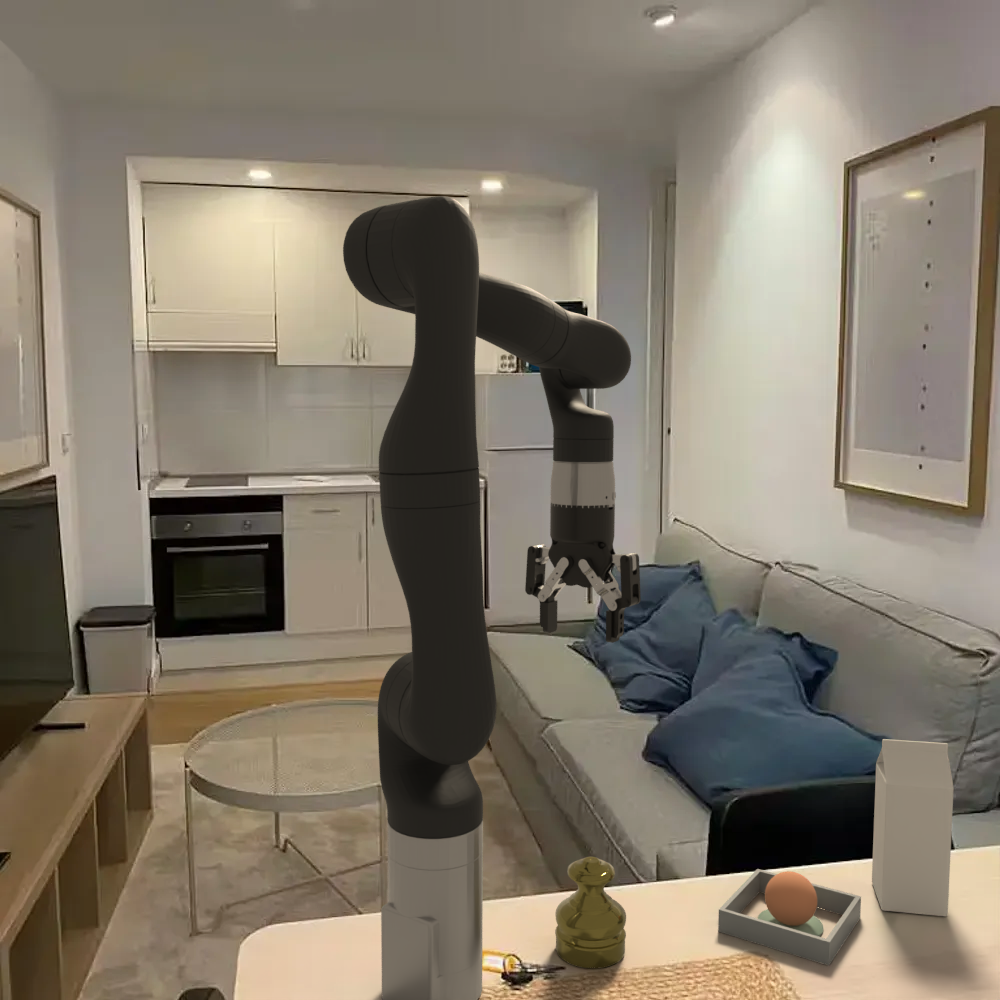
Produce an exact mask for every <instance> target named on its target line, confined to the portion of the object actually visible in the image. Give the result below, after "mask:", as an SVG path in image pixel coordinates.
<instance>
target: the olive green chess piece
mask: <svg viewBox="0 0 1000 1000" xmlns="http://www.w3.org/2000/svg"><path fill="white" fill-rule="evenodd" d="M567 876H568V877H569V878H570V879H571V881H574V883H575V884H576V885H577V890H575V892H573V893H571V894H570V896H568V897H566V898H565V899H562V901H561V902H560V903H559V904H558V906H556V909H555V921H556V924H557V925H556V927H555V929H554V931H555V932H554V933H555V951H556V953H557V955H558V956H559V957H560V958H561V959H562V960H563V961H564V962H566V963H568V964H569V965H573V966H575V967H579V968H584V969H602V968H608V967H611V966H613V965H616V964H617V963H618V962H620V961H621V960H622V959H623V958H624V956H625V954H626V938H627V933H626V932H627V931H626V930H625V926H626V922H627V913H626V910H625V908H624V907H623V906H622V904H620V903H619V902H618V901H616V900H615V899H613V897H611V896H610V894H608V893H607V892H606V891H605V890H604V889H605V887H606V885H607V884H608V883H611V881H612V880H613V879H615V876H616V871H615V868H614V866H613V865H612V864H611V863H610V862H607V861H605V860H603V859H601V858H598V857H597V856H596V857H595V856H586V857H584V858H579V859H577V860H575V861H572V862H571V863H570V864H569V865H568V866H567Z"/></svg>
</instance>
